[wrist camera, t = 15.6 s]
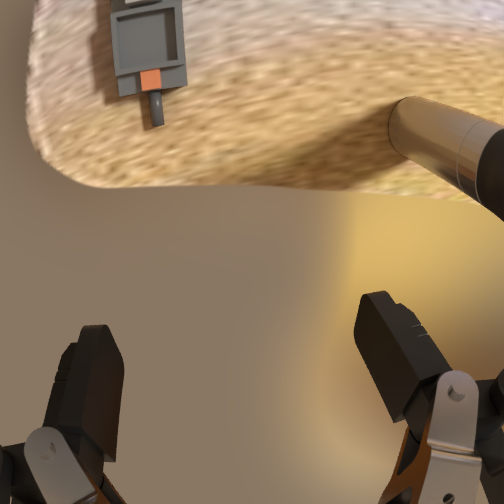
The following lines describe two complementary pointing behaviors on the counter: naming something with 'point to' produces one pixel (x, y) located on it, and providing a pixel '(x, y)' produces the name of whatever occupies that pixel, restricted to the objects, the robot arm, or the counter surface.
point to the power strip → (148, 49)
